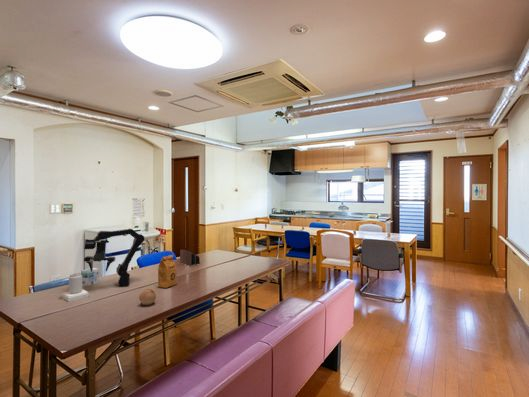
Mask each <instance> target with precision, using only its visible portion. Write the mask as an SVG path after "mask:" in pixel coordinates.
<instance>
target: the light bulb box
mask: <svg viewBox="0 0 529 397" xmlns="http://www.w3.org/2000/svg"><path fill="white" fill-rule="evenodd" d="M80 273H81V275H82V286H87V287H88V286H92V285H94V284H97V283H99V282H100V269H99V267H93V270H92V271H91V269H90V267H89V268H86V269H82V270H80Z"/></svg>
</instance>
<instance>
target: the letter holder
mask: <svg viewBox="0 0 529 397" xmlns="http://www.w3.org/2000/svg"><path fill="white" fill-rule="evenodd" d="M200 261H201V260H200V256H199V255H197V254H195V253H193V252H191V251H190V250H187V249H180V254H179V263H180V264H181V263H183V264H182V265H184V264H186V265H185V266H188V265H189V266H188V267H194V266H193V265H196V266H198V265H197V264H201V262H200Z"/></svg>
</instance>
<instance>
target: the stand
mask: <svg viewBox="0 0 529 397" xmlns="http://www.w3.org/2000/svg"><path fill="white" fill-rule="evenodd" d="M89 297H90V293H89V292H88V291H87V290H85V289H84V288H82V291H81V292H80V293H77V294H71V293H69V291H65V292H62V294H61V298H62V299H63V300H65V301H66V302H73V301H77V300H80V299H81V300H82V299H85V298H89Z"/></svg>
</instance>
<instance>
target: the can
mask: <svg viewBox="0 0 529 397" xmlns="http://www.w3.org/2000/svg"><path fill="white" fill-rule="evenodd" d="M82 289H83V285H82V275H81V272H76V273H75V272H74V273H70V274H69V277H68V292H69V293H71V294H77V293H80V292H81V291H82Z"/></svg>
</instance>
